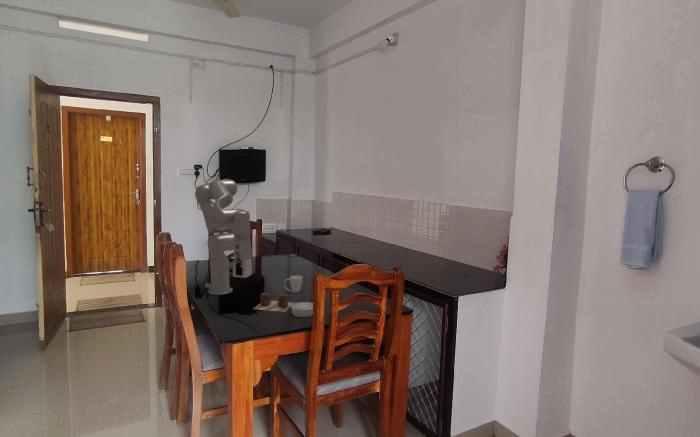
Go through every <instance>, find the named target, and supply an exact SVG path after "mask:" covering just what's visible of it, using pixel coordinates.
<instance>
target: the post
mask: <svg viewBox="0 0 700 437" xmlns="http://www.w3.org/2000/svg"><path fill="white" fill-rule="evenodd" d="M277 301H278V307H280V308H286V307H287V306H288V302H289V294H286V293H280V294H279V295H278V296H277Z"/></svg>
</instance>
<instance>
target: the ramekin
mask: <svg viewBox="0 0 700 437" xmlns="http://www.w3.org/2000/svg"><path fill="white" fill-rule="evenodd" d="M313 304H314V303H313V302H309V301H298V302H295V303H294V304H293V305H292V306H291V307H290V308H291V314H292V316H293V317H295V318H296V317H297V318H310V317H313V316H314V315H313ZM312 315H313V316H312Z"/></svg>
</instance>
